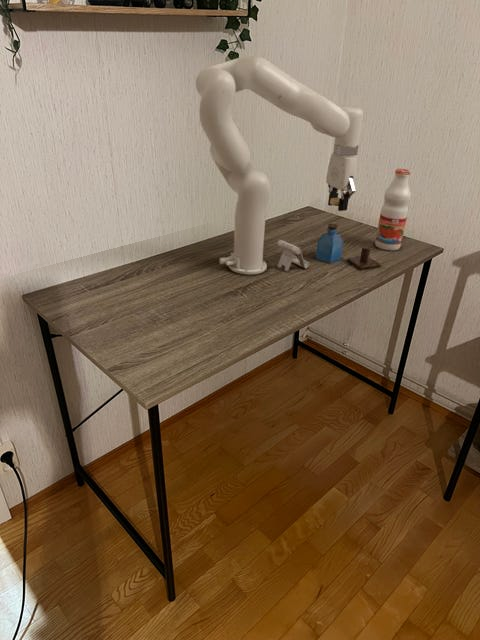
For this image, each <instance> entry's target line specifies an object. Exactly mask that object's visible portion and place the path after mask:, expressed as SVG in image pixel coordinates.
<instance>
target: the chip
mask: <svg viewBox="0 0 480 640" xmlns="http://www.w3.org/2000/svg"><path fill="white" fill-rule="evenodd" d="M340 198H341V197H338V198H331V199H330V204H331V205H332V206H333V207H338V206H339V199H340Z"/></svg>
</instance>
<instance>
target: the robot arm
mask: <svg viewBox="0 0 480 640" xmlns="http://www.w3.org/2000/svg"><path fill="white" fill-rule="evenodd" d="M195 89H196V92H197V94H198V95H199V96H200V97H201V99H200V103H199V113H198V114H199V122H200V125H201V128H202V130H203V132H204V134H205V136H206V138H207V140H208V141H209V143H210V145H209V152H210V155H211V156H210V157H211V158H212V160H213V162H214V164H215V165H216V167H217V169H218V171H219V172H220V174H221V175H222V177H223V178H224V180H225V182H226V184H227V185H228V186H229V188H230V189H231V190H232V191H233V192H234V193H236V194H237V201H236V205H235V209H234V210H235V211H234V231H233V232H234V233H233V234H234V236H233V252H230V255H228V256H227V257H220V258H219V259H218V261H219V264H220V265H224V264H225V265H226V267H228V268H229V270H230V271H232V272H234V273H236V274H240V275H246V276H247V275H249V276H251V275H253V276H254V275H259V274H261V273H264V272H265V271H266V270H267V268H268V264H267V263H266V261H265V260H263V259H264V245H265V230H266V217H267V216H266V215H267V207H268V202H269V198H270V193H271V185H270V181H269V178H268V177H267V175H266V174H265V173H264V172H263V171H261V170H260V169H258V168H257V167H255V166H253V164H252V163H251V151H250V148H249V146H248V144H247V143H246V141H245V140H244V138H243V136H242V134H241V133H240V130H239V129H238V127H237V126H236V123H235V121H234V119H233V116H232V114H231V106H232V101H233V99H234V97H235V94H236V93H239V92H241V91H244V90H248V91H251V92H253V93H254V94H255V95H257V96H258V97H261V98H263V99H264V100H265V101H267V102H269V103H270V104H272V105H273V106H275V107H277V108H278V109H279V110H281V111H283V112H285V113H287V114H288V115H290V116H294V117H297V118H299V119H301V120H304V121H306V122H307V123H310V126H311V127H312V129H314V130H315V131H316V132H318V133H321V134H323V135H326V136H329V137H331V138H334V141H333V142H334V143H333V149H332V153H331V155H330V158H329V162H328V165H327V172H326V177H325V178H326V179H325V183H326V184H327V187H328V193H329V194H328V201H327V206H329V207H330V206H331V207H332V206H333V205H331V204H330V199H331V198H340V199H339V206H337V211H338V212H345V211H347V210H348V206H349V200H350V199H351V197H352V196H353V194H356V187H355V184H356V179H357V170H358V153H359V145H360V139H361V133H362V128H363V127H362V126H363V122H364V121H363V120H364V110H363V109H362V108H360V107H355V106H343V107H340V106H339V105H337V104H335V102H333V101H331V100H330V99H328V98H326V97H324V96H323V95H321V94H319V93H318V92H317V91H314V90H313V89H311V88H310V87H308V86H307V85H305V84H303V83H301V82H300V81H298V80H297V79H295V78H294V77H292V76H291V75H289V74H288V73H286V72H285V71H283V70H282V69H281V68H279V67H278V66H276V65H275V64H273V63H272V62H271V61H269V60H267V59H265V58H264V57H261V56H257V55H256V56H255V55H244V56H241V57H237V58H234V59H230V60H228V61H224V62H220V63H216V64H213V65H210V66H207V67H205V68H203V69H201V70H200V71H199V72H198V74H197V75H196V77H195ZM338 191H340V197H339V193H338ZM345 191H346V192H345Z"/></svg>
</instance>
